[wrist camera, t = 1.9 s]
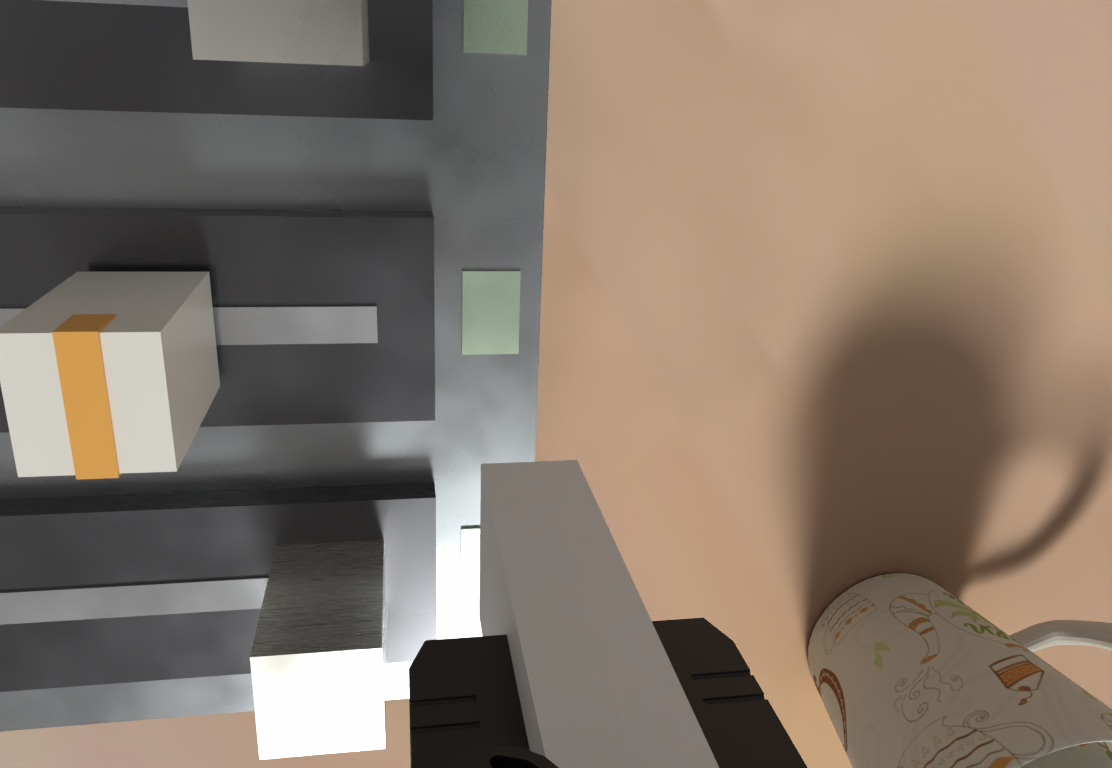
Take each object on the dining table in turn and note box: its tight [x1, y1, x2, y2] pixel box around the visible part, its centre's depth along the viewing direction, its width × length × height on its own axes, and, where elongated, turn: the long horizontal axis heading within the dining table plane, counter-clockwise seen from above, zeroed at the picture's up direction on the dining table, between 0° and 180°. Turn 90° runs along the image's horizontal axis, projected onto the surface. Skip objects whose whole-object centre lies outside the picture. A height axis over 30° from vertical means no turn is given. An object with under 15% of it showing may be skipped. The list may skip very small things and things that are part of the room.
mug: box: [808, 573, 1112, 768], centre depth 30 cm, size 8×13×10 cm, turn 106°
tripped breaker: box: [0, 272, 220, 480], centre depth 20 cm, size 3×3×5 cm
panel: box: [0, 0, 551, 760], centre depth 22 cm, size 26×20×8 cm
